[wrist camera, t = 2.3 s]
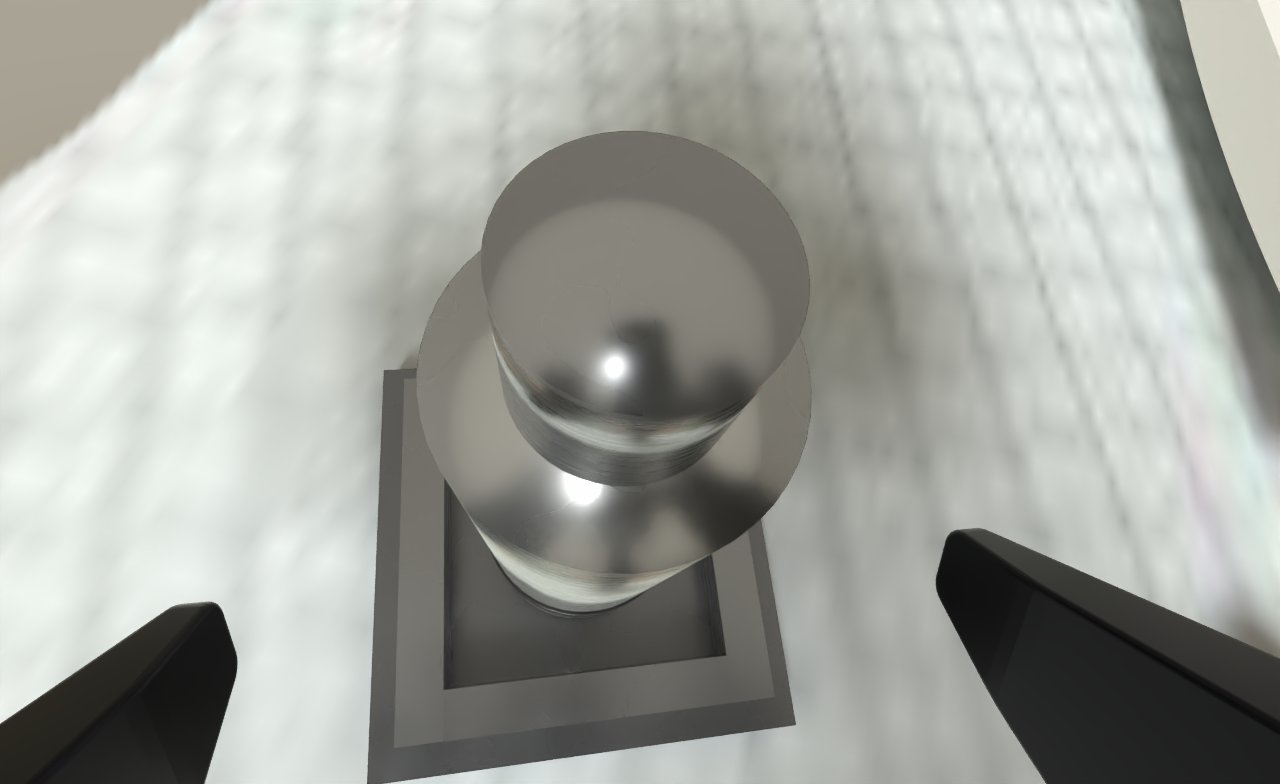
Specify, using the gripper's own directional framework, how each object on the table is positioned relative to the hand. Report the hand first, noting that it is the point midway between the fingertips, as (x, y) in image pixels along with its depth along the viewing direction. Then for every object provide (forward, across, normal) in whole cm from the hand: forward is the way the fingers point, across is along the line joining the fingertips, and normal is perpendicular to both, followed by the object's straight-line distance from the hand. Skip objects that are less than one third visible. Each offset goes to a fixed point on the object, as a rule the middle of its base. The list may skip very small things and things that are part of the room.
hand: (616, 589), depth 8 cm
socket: (+8, 0, +6) cm, 10 cm away
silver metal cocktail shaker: (+8, 0, +5) cm, 9 cm away
